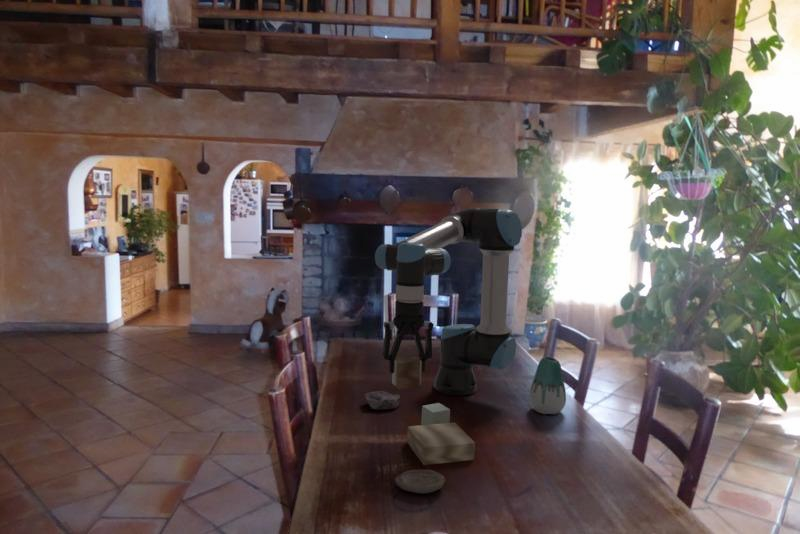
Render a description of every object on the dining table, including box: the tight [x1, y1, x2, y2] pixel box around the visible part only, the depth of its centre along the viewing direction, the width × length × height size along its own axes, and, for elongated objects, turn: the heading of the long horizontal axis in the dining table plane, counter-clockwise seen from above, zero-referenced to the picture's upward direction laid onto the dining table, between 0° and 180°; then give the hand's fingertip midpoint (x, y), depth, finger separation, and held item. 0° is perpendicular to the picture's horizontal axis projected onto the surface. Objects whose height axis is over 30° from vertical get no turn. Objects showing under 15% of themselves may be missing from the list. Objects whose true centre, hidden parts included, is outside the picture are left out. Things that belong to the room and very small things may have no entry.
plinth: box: [406, 422, 476, 466], centre depth 156 cm, size 14×14×5 cm
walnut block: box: [395, 356, 420, 390], centre depth 159 cm, size 6×6×7 cm
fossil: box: [395, 469, 446, 494], centre depth 136 cm, size 10×12×3 cm
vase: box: [528, 356, 567, 415], centre depth 188 cm, size 12×12×18 cm
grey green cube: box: [420, 402, 451, 425], centre depth 172 cm, size 6×6×6 cm
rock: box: [364, 390, 401, 411], centre depth 188 cm, size 8×11×5 cm
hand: (406, 383), depth 159 cm, fingers closed on walnut block, 6 cm apart
